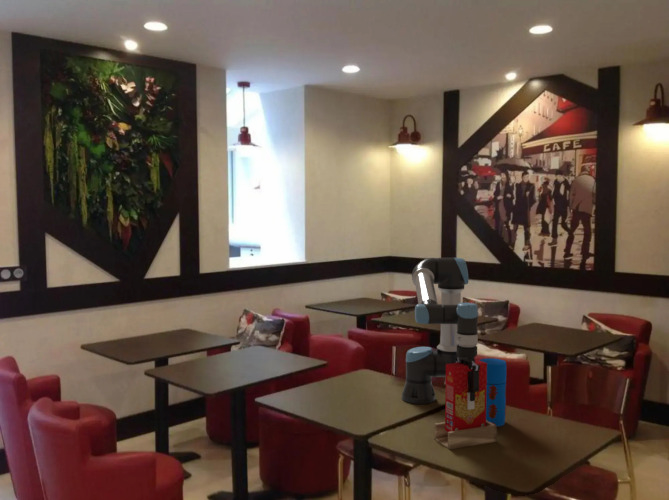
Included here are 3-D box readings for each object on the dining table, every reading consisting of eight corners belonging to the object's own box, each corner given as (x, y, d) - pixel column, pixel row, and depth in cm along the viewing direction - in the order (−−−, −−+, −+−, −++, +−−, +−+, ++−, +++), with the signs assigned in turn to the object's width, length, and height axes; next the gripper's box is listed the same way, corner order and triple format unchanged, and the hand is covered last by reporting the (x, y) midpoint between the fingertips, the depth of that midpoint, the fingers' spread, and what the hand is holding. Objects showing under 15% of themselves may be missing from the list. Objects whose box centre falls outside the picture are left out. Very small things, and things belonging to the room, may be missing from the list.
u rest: (434, 439, 229) (434, 423, 228) (480, 432, 236) (480, 416, 236) (449, 449, 219) (449, 433, 219) (496, 441, 226) (496, 425, 226)
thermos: (506, 427, 241) (507, 365, 239) (478, 425, 243) (479, 364, 241) (504, 418, 252) (505, 358, 250) (477, 416, 254) (478, 357, 252)
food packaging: (453, 435, 222) (454, 367, 220) (444, 430, 226) (445, 364, 225) (485, 428, 228) (487, 363, 226) (476, 424, 233) (478, 360, 231)
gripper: (444, 340, 232) (444, 400, 234) (472, 351, 215) (471, 415, 217) (461, 339, 235) (460, 398, 237) (490, 349, 218) (489, 412, 219)
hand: (466, 406), depth 227 cm, fingers closed on food packaging, 5 cm apart
